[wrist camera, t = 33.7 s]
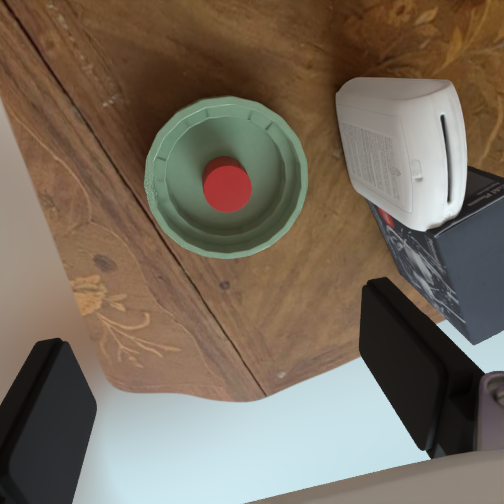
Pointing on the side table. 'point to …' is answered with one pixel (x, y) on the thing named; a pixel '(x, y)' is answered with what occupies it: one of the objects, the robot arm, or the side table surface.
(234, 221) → the dish
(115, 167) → the side table surface
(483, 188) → the small box
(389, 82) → the photo printer
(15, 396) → the robot arm
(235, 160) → the cap
